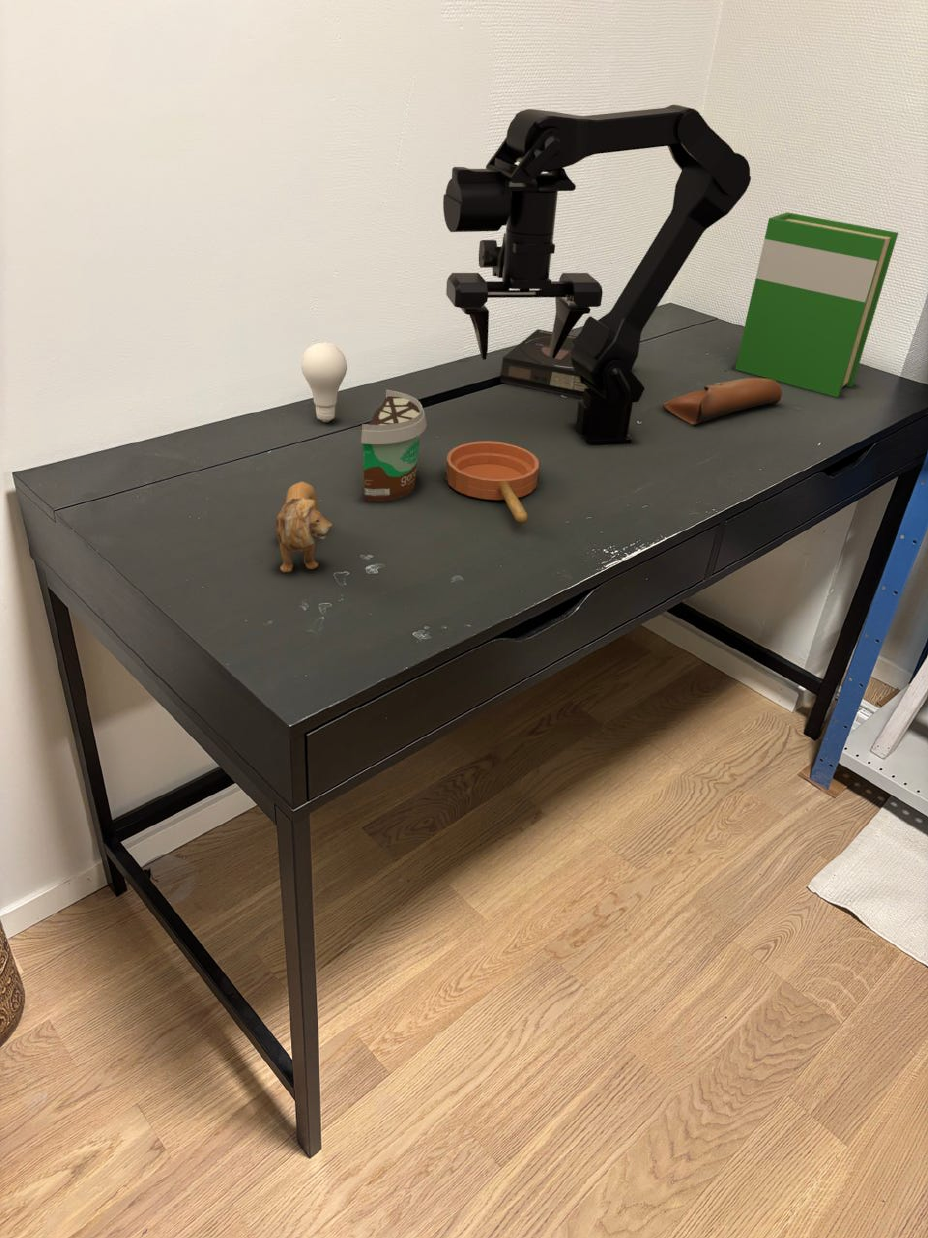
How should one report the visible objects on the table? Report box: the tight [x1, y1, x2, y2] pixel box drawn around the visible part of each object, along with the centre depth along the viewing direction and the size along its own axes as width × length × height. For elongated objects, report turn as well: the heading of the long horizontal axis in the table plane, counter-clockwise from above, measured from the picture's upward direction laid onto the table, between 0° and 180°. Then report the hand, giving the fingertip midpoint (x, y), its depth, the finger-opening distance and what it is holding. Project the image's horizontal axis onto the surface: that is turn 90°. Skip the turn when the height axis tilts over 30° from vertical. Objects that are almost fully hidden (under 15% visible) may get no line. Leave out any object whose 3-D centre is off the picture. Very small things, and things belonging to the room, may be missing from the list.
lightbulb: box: [300, 341, 348, 423], centre depth 128 cm, size 6×6×11 cm
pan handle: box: [499, 481, 529, 524], centre depth 110 cm, size 1×9×1 cm, turn 13°
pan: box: [445, 440, 540, 501], centre depth 118 cm, size 11×11×3 cm
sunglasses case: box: [662, 377, 783, 426], centre depth 143 cm, size 18×7×7 cm, turn 125°
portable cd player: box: [499, 328, 588, 400], centre depth 151 cm, size 16×17×4 cm
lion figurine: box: [275, 481, 333, 573], centre depth 99 cm, size 15×5×9 cm, turn 14°
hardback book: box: [734, 211, 899, 398], centre depth 151 cm, size 18×7×24 cm, turn 53°
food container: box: [360, 389, 427, 502], centre depth 113 cm, size 12×6×10 cm, turn 170°
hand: (518, 357), depth 122 cm, fingers open, 9 cm apart
